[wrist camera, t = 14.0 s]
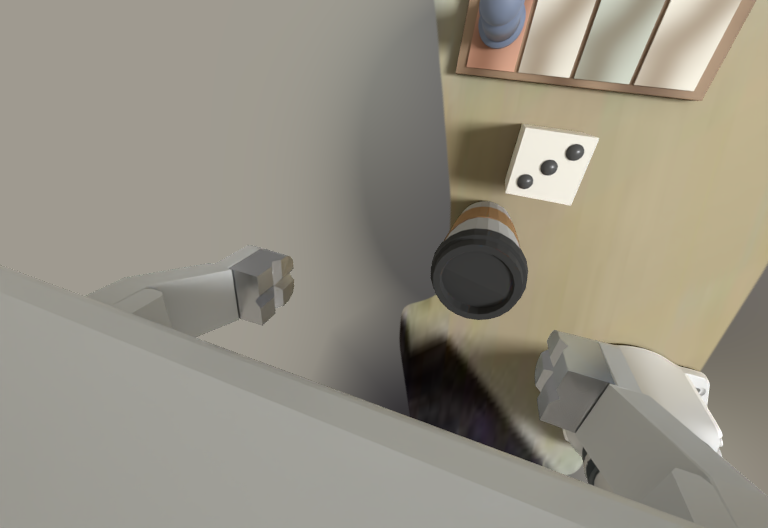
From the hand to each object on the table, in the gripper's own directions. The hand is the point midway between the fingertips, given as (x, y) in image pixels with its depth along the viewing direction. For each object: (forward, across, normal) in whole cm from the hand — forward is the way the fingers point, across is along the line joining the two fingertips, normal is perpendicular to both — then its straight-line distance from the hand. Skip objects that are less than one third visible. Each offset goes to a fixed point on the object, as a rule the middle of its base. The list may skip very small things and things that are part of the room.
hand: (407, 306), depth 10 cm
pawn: (+30, -1, +12) cm, 32 cm away
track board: (+31, +7, +12) cm, 34 cm away
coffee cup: (+31, +3, -8) cm, 32 cm away
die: (+31, +7, +1) cm, 32 cm away
